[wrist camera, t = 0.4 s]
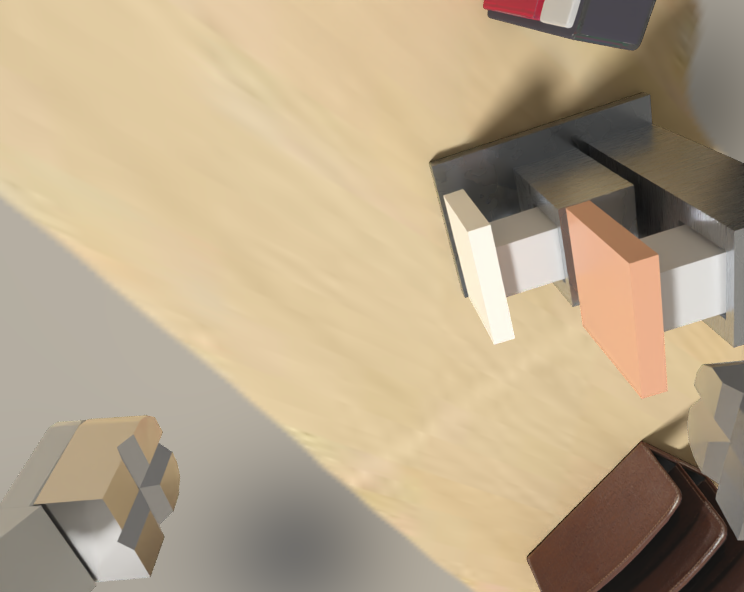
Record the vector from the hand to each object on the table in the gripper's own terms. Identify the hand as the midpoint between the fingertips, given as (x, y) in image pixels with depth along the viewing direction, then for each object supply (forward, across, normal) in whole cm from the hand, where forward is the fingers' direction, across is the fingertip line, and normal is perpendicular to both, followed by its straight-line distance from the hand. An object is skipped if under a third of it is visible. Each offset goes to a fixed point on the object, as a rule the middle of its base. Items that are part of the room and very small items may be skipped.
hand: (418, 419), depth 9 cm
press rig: (+39, -10, +16) cm, 43 cm away
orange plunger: (+28, -13, +15) cm, 34 cm away
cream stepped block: (+35, -6, +16) cm, 39 cm away
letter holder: (+38, -18, +55) cm, 69 cm away
